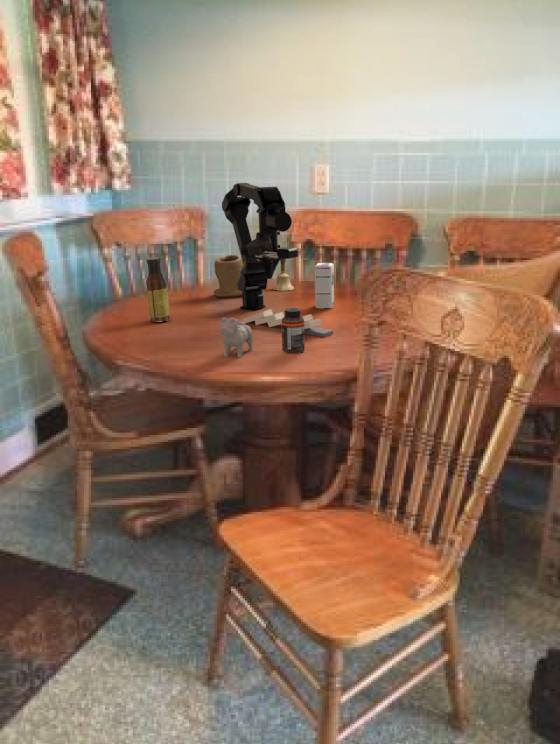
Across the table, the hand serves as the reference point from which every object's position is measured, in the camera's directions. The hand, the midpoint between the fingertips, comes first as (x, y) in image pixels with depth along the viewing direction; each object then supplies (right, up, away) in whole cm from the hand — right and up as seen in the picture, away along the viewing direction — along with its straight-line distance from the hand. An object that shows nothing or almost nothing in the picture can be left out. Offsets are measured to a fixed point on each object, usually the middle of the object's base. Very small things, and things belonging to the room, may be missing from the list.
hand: (269, 278), depth 210 cm
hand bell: (+5, +2, +45) cm, 46 cm away
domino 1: (-6, -13, -4) cm, 15 cm away
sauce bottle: (-35, -14, 0) cm, 37 cm away
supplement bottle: (+7, -24, -35) cm, 43 cm away
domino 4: (+6, -16, -12) cm, 21 cm away
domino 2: (-3, -14, -6) cm, 15 cm away
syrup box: (+18, -8, +15) cm, 25 cm away
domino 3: (+1, -15, -9) cm, 17 cm away
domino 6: (+11, -18, -16) cm, 26 cm away
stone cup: (-14, -2, +34) cm, 37 cm away
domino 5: (+9, -16, -16) cm, 24 cm away
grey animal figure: (-8, -25, -36) cm, 45 cm away
